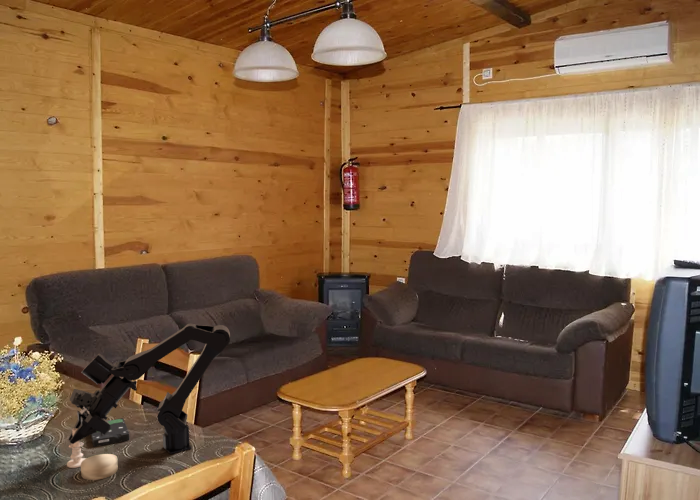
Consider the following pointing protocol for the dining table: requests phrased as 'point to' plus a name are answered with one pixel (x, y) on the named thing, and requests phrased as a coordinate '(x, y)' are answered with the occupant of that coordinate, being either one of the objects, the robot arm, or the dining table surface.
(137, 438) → the dining table surface
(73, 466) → the candle
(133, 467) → the dining table surface
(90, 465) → the stand
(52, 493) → the dining table surface
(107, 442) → the disk drive
